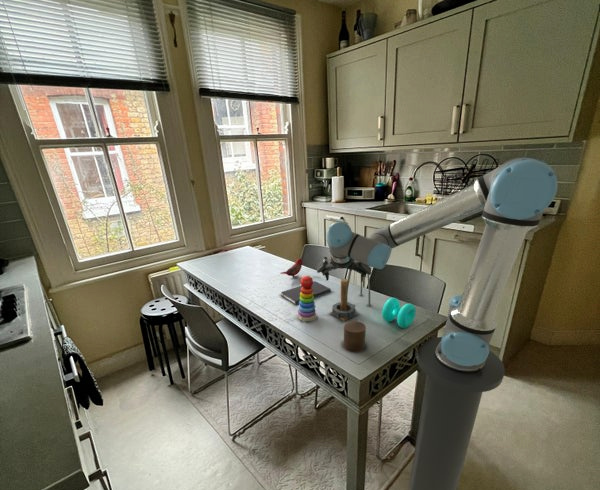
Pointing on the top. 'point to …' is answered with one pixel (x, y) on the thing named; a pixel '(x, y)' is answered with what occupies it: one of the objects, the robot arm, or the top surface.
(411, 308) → the teal toy dumbbell
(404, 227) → the robot arm
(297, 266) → the decorative bird figurine
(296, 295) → the notebook
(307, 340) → the top surface
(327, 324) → the top surface
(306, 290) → the stacking toy
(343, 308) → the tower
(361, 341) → the stand
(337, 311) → the gray octagonal ring
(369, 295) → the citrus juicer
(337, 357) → the top surface
